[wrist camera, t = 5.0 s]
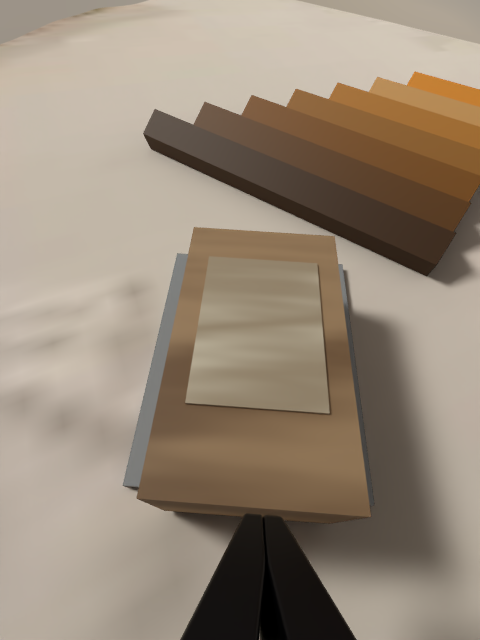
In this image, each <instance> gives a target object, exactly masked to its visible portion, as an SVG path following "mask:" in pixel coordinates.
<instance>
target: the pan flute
mask: <svg viewBox="0 0 480 640" xmlns="http://www.w3.org/2000/svg"><path fill="white" fill-rule="evenodd" d="M143 134H144V136H145V138H146V140H147V142H148V144H149V146H150V148H151V149H152V150H154V151H156V152H159V153H161V154H163V155H165V156H167V157H169V158H172V159H174V160H176V161H178V162H180V163H182V164H185V165H187V166H189V167H191V168H193V169H195V170H198V171H200V172H202V173H204V174H206V175H208V176H211V177H213V178H215V179H217V180H219V181H221V182H224V183H226V184H228V185H230V186H232V187H234V188H237V189H239V190H241V191H243V192H245V193H247V194H250V195H252V196H254V197H256V198H258V199H260V200H263V201H265V202H267V203H269V204H271V205H273V206H276V207H278V208H280V209H282V210H284V211H286V212H289V213H291V214H293V215H295V216H297V217H299V218H302V219H304V220H306V221H308V222H310V223H312V224H315V225H317V226H319V227H321V228H323V229H325V230H328V231H330V232H332V233H334V234H336V235H338V236H341V237H343V238H345V239H347V240H349V241H351V242H354V243H356V244H358V245H360V246H362V247H364V248H367V249H369V250H371V251H373V252H375V253H377V254H380V255H382V256H384V257H386V258H388V259H390V260H393V261H395V262H397V263H399V264H401V265H403V266H406V267H408V268H410V269H412V270H414V271H416V272H419V273H421V274H423V275H425V276H427V275H428V274H429V273H430V272H431V271H432V269H433V268H434V267H435V266H436V265H437V263H438V262H439V260H440V258H441V257H442V255H443V254H444V252H445V250H446V249H447V247H448V246H449V244H450V242H451V241H452V239H453V238H454V236H455V234H456V233H455V232H454V230H455V228H456V227H457V225H458V224H459V222H460V220H461V219H462V217H463V216H464V214H465V212H466V211H467V209H468V207H469V206H470V204H471V203H470V202H469V201H470V199H471V198H472V196H473V194H474V193H475V191H476V190H477V188H478V186H479V185H480V90H479V89H476V88H472V87H468V86H465V85H461V84H458V83H454V82H450V81H447V80H443V79H440V78H436V77H433V76H429V75H425V74H422V73H418V72H414V74H413V75H412V77H411V79H410V81H409V82H408V84H407V86H406V85H403V84H400V83H396V82H393V81H389V80H386V79H383V78H379V77H377V78H376V80H375V82H374V84H373V86H372V87H371V89H370V91H369V92H366V91H363V90H360V89H357V88H353V87H350V86H347V85H344V84H341V83H337V85H336V87H335V89H334V91H333V92H332V94H331V96H330V98H329V99H326V98H323V97H320V96H317V95H314V94H311V93H308V92H305V91H302V90H299V89H296V90H295V92H294V93H293V95H292V97H291V99H290V101H289V103H288V105H287V107H284V106H281V105H279V104H276V103H273V102H270V101H267V100H264V99H262V98H259V97H256V96H253V95H252V96H251V97H250V99H249V101H248V103H247V105H246V107H245V109H244V111H243V113H242V115H238V114H236V113H233V112H230V111H228V110H225V109H222V108H220V107H217V106H214V105H212V104H209V103H207V102H204V104H203V106H202V108H201V110H200V113H199V115H198V117H197V119H196V121H195V123H194V125H192V124H190V123H188V122H185V121H183V120H180V119H178V118H175V117H173V116H171V115H168V114H166V113H163V112H161V111H158V110H156V109H155V110H154V112H153V114H152V116H151V118H150V120H149V122H148V124H147V127H146V129H145V131H144V133H143Z"/></svg>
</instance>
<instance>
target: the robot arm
mask: <svg viewBox="0 0 480 640" xmlns="http://www.w3.org/2000/svg"><path fill="white" fill-rule="evenodd" d="M259 633H260V640H356V638H355V636H354V635H353V633H352V631H351V630H350V628H349V626H348V625H347V623H346V621H345V620H344V618H343V617H342V615H341V613H340V612H339V610H338V608H337V607H336V605H335V603H334V602H333V600H332V598H331V597H330V595H329V594H328V592H327V590H326V589H325V587H324V585H323V584H322V582H321V580H320V579H319V577H318V575H317V574H316V572H315V571H314V569H313V567H312V566H311V564H310V562H309V561H308V559H307V557H306V556H305V554H304V553H303V551H302V549H301V548H300V546H299V544H298V543H297V541H296V539H295V538H294V536H293V534H292V533H291V531H290V530H289V528H288V526H287V525H286V523H285V521H284V520H283V518H282V517H281V516H279V515H267V514H266V515H264V516H263V517H262V515H261V514H255V513H245V514H244V515H243V517H242V519H241V521H240V523H239V525H238V527H237V529H236V531H235V533H234V535H233V537H232V539H231V541H230V543H229V545H228V547H227V549H226V551H225V553H224V555H223V557H222V559H221V561H220V563H219V565H218V567H217V568H216V570H215V572H214V574H213V576H212V578H211V580H210V582H209V584H208V586H207V588H206V590H205V592H204V594H203V596H202V598H201V600H200V602H199V604H198V606H197V608H196V610H195V612H194V614H193V616H192V618H191V620H190V622H189V624H188V626H187V628H186V629H185V631H184V633H183V635H182V637H181V639H180V640H259Z"/></svg>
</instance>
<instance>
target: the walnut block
mask: <svg viewBox="0 0 480 640" xmlns="http://www.w3.org/2000/svg"><path fill="white" fill-rule="evenodd" d="M137 499H139V500H141V501H144V502H146V503H148V504H150V505H153V506H155V507H157V508H160V509H162V510H164V511H177V512H189V513H202V514H214V515H227V516H240V517H243V515H244V514H245V513H255V514H261V515H262V517H263V516H264V515H266V514H267V515H279V516H281V517H282V518H283V520H290V521H303V522H315V523H328V524H330V523H336V522H343V521H349V520H355V519H361V518H368V517H371V513H370V505H369V497H368V490H367V482H366V474H365V467H364V459H363V451H362V444H361V436H360V428H359V421H358V413H357V405H356V397H355V390H354V382H353V374H352V367H351V359H350V351H349V344H348V336H347V328H346V321H345V313H344V305H343V297H342V290H341V282H340V274H339V267H338V259H337V251H336V244H335V236H322V235H306V234H291V233H275V232H260V231H244V230H229V229H213V228H197V227H194V229H193V234H192V239H191V244H190V248H189V253H188V258H187V263H186V267H185V272H184V277H183V281H182V286H181V291H180V296H179V300H178V305H177V310H176V314H175V319H174V324H173V329H172V333H171V338H170V343H169V347H168V352H167V357H166V362H165V366H164V371H163V376H162V380H161V385H160V390H159V395H158V399H157V404H156V409H155V414H154V418H153V423H152V428H151V432H150V437H149V442H148V447H147V451H146V456H145V461H144V465H143V470H142V475H141V480H140V484H139V489H138V494H137Z"/></svg>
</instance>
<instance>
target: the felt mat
mask: <svg viewBox="0 0 480 640" xmlns="http://www.w3.org/2000/svg"><path fill="white" fill-rule="evenodd" d="M187 258H188V254H178V253H177V257H176V261H175V266H174V270H173V274H172V278H171V282H170V287H169V291H168V295H167V299H166V304H165V308H164V312H163V316H162V321H161V325H160V329H159V333H158V338H157V342H156V346H155V350H154V355H153V359H152V363H151V367H150V372H149V376H148V380H147V384H146V389H145V393H144V397H143V401H142V406H141V410H140V414H139V418H138V423H137V427H136V431H135V435H134V440H133V444H132V448H131V452H130V457H129V461H128V465H127V469H126V473H125V478H124V482H123V486H125V487H138V488H139V484H140V480H141V475H142V470H143V465H144V461H145V456H146V451H147V447H148V442H149V437H150V432H151V428H152V423H153V418H154V414H155V409H156V404H157V399H158V395H159V390H160V385H161V380H162V376H163V371H164V366H165V362H166V357H167V352H168V347H169V343H170V338H171V333H172V329H173V324H174V319H175V314H176V310H177V305H178V300H179V296H180V291H181V286H182V281H183V277H184V272H185V267H186V263H187ZM338 267H339V274H340V282H341V290H342V297H343V305H344V313H345V321H346V328H347V336H348V344H349V351H350V359H351V367H352V374H353V382H354V390H355V397H356V405H357V413H358V421H359V428H360V436H361V444H362V451H363V459H364V467H365V474H366V482H367V490H368V497H369V505H370V506H374V498H373V491H372V483H371V476H370V468H369V461H368V453H367V446H366V438H365V431H364V423H363V416H362V408H361V401H360V393H359V386H358V378H357V371H356V363H355V356H354V348H353V341H352V333H351V326H350V318H349V311H348V303H347V296H346V288H345V280H344V273H343V265H342V264H338Z"/></svg>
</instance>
